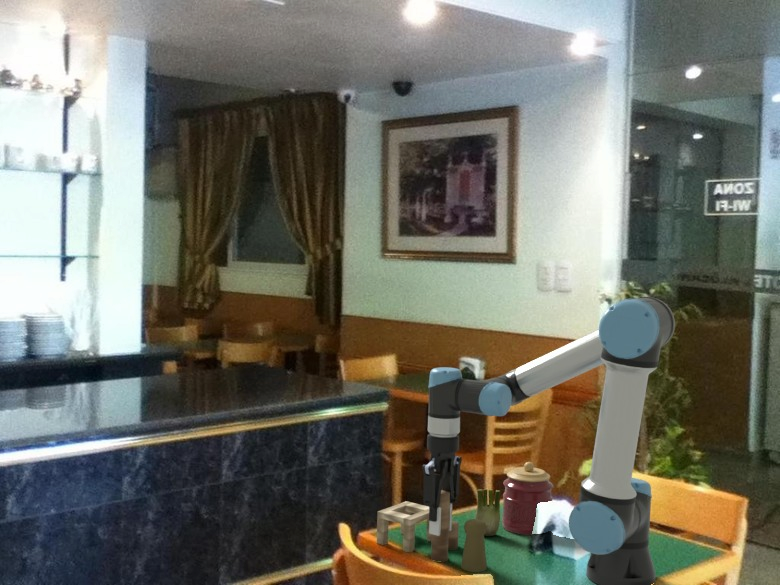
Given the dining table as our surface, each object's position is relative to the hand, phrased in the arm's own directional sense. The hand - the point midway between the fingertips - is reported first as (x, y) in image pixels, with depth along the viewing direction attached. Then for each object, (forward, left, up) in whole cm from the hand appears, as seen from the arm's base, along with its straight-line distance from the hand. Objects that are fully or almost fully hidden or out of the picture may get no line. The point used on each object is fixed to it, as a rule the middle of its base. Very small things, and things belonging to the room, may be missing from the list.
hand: (440, 531), depth 224 cm
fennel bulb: (+1, -23, -7) cm, 24 cm away
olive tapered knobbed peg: (-9, -1, -7) cm, 11 cm away
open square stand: (+13, -5, -7) cm, 15 cm away
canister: (-4, -35, -7) cm, 36 cm away
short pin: (+3, -9, -7) cm, 12 cm away
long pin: (0, 0, -7) cm, 7 cm away
